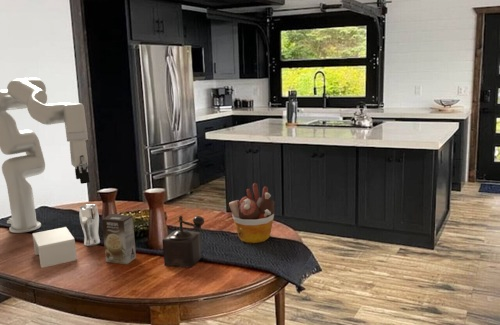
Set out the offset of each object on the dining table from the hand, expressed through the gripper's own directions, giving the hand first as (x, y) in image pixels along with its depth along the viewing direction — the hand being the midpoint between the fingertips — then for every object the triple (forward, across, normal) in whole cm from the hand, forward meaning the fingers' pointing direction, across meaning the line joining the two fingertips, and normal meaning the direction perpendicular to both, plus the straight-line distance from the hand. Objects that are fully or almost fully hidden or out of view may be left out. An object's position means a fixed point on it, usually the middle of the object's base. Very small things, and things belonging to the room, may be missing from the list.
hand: (82, 180), depth 186 cm
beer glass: (+26, -1, +1) cm, 26 cm away
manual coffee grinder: (+27, +38, +26) cm, 54 cm away
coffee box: (+26, +23, +6) cm, 35 cm away
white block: (+25, +6, -14) cm, 29 cm away
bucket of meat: (+27, +31, +56) cm, 69 cm away
